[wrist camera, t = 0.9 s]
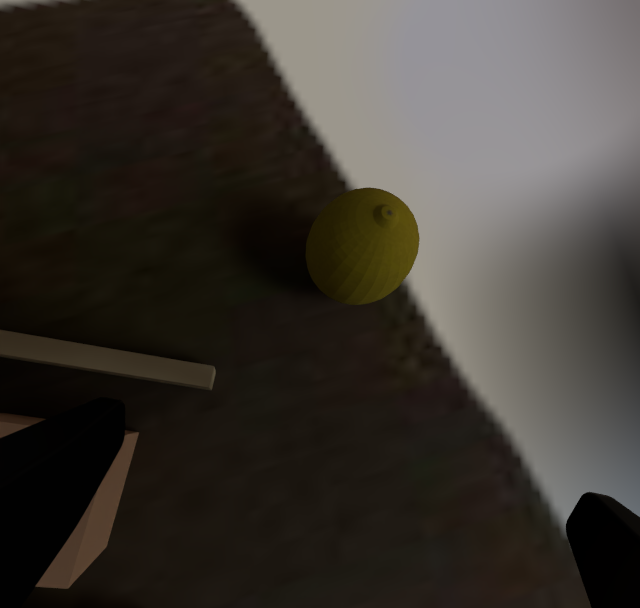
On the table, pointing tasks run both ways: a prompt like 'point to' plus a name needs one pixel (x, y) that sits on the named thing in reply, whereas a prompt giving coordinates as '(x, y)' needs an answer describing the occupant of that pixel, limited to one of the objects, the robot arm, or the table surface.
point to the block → (96, 519)
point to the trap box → (105, 360)
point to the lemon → (362, 246)
